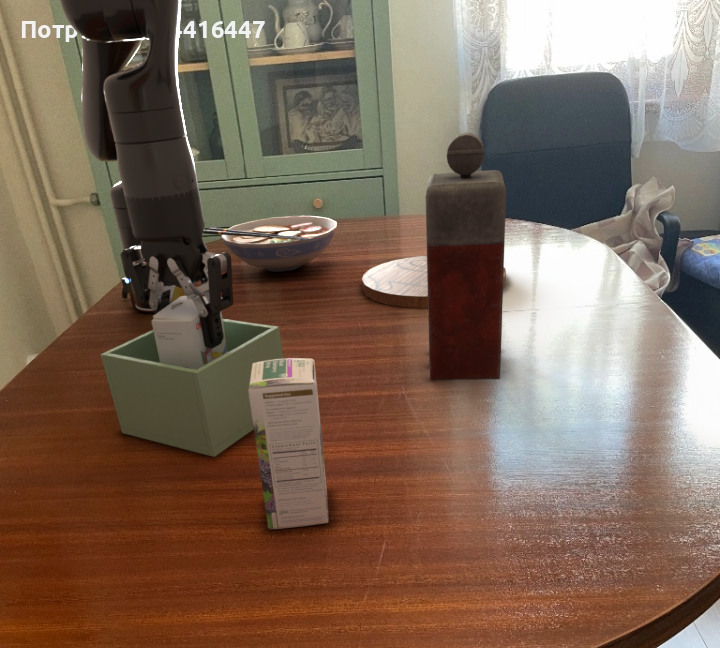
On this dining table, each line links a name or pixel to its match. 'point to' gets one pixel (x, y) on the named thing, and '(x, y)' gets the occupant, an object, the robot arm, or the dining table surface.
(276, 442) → the syrup box
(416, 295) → the trivet
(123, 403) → the waste bin
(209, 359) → the ink box
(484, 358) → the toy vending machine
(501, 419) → the dining table surface
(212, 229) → the ramen bowl
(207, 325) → the robot arm
